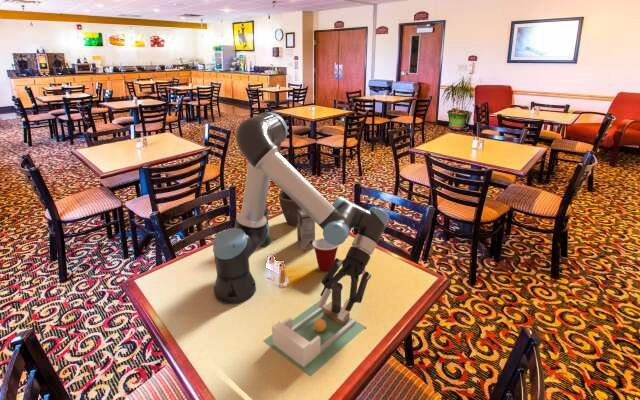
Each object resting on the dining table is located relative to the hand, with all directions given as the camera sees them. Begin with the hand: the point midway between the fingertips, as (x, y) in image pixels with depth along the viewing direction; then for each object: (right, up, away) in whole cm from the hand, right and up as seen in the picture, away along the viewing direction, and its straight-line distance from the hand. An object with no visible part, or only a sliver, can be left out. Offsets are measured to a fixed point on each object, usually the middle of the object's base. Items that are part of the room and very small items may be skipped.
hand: (329, 313), depth 119 cm
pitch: (-4, -6, -3) cm, 8 cm away
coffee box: (-9, +16, +51) cm, 55 cm away
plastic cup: (-1, +8, +33) cm, 34 cm away
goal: (-10, -8, -9) cm, 15 cm away
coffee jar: (-31, +16, +53) cm, 64 cm away
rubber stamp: (+2, -3, +4) cm, 6 cm away
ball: (-3, -3, -2) cm, 5 cm away
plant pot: (-16, +24, +72) cm, 78 cm away
